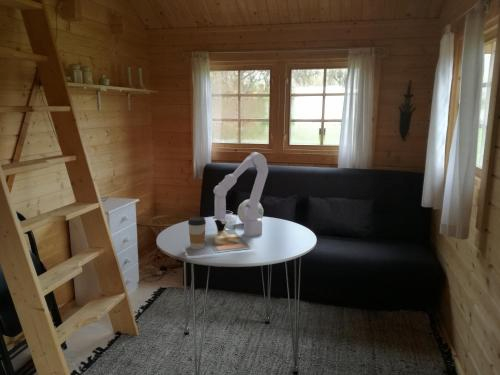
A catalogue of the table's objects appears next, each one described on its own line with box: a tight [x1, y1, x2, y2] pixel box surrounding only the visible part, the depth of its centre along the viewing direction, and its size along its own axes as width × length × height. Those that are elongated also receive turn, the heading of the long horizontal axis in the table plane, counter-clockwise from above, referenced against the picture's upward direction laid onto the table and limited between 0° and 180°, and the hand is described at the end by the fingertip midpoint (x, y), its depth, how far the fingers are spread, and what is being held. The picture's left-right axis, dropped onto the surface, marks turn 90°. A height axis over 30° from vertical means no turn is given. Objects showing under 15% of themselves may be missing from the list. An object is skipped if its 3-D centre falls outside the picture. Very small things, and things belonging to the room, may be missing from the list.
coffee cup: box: [187, 216, 207, 250], centre depth 190 cm, size 8×8×15 cm
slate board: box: [205, 231, 251, 254], centre depth 200 cm, size 18×26×1 cm
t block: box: [213, 230, 239, 245], centre depth 202 cm, size 12×12×3 cm
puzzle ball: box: [237, 198, 264, 224], centre depth 232 cm, size 15×15×15 cm
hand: (220, 233), depth 208 cm, fingers closed
